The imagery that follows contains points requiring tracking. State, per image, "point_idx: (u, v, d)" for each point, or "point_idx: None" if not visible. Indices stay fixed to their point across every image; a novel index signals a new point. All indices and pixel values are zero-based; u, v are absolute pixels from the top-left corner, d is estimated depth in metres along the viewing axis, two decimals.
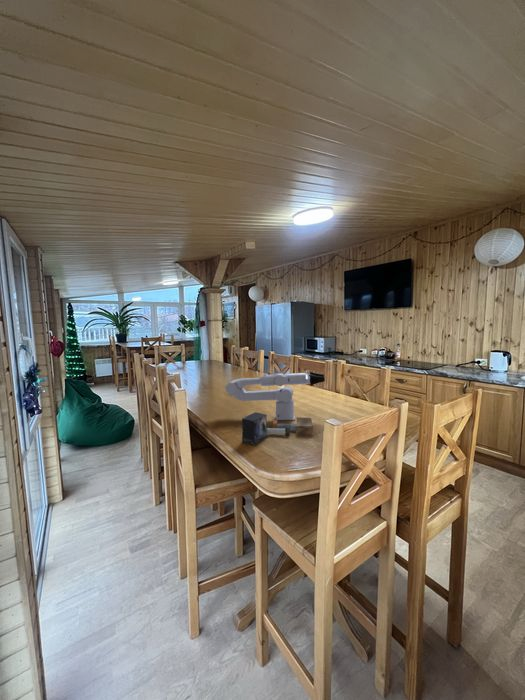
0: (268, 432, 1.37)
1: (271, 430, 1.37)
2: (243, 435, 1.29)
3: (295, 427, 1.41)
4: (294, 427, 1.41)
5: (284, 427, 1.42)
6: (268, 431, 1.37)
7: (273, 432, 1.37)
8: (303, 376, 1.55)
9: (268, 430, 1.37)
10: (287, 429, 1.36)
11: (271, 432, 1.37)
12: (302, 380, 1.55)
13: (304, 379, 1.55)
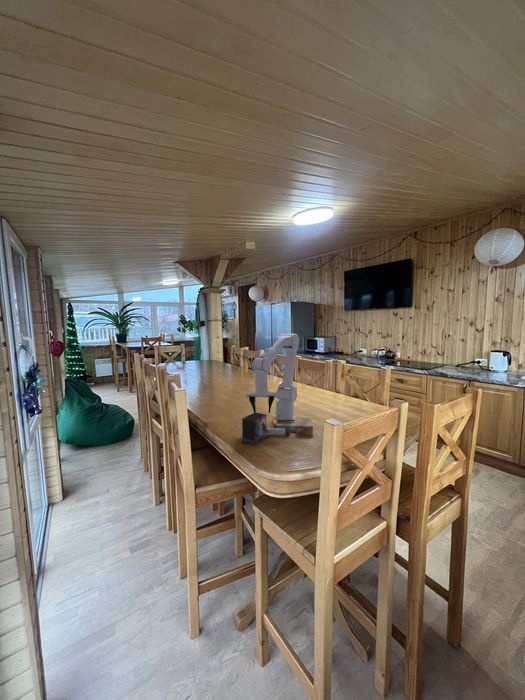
0: (268, 432, 1.37)
1: (271, 430, 1.37)
2: (243, 435, 1.29)
3: (295, 427, 1.41)
4: (294, 427, 1.41)
5: (284, 427, 1.42)
6: (268, 431, 1.37)
7: (273, 432, 1.37)
8: (256, 391, 1.41)
9: (268, 430, 1.37)
10: (287, 429, 1.36)
11: (271, 432, 1.37)
12: None
13: None
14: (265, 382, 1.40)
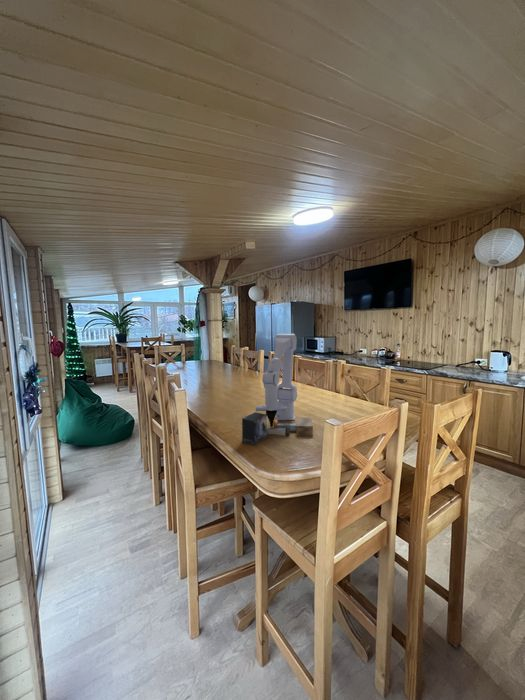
0: (268, 432, 1.37)
1: (271, 430, 1.37)
2: (243, 435, 1.29)
3: (296, 427, 1.41)
4: (295, 427, 1.41)
5: (285, 427, 1.42)
6: (268, 431, 1.37)
7: (273, 432, 1.37)
8: (266, 405, 1.41)
9: (268, 430, 1.37)
10: (287, 429, 1.36)
11: (271, 432, 1.37)
12: None
13: (265, 405, 1.43)
14: (276, 396, 1.41)
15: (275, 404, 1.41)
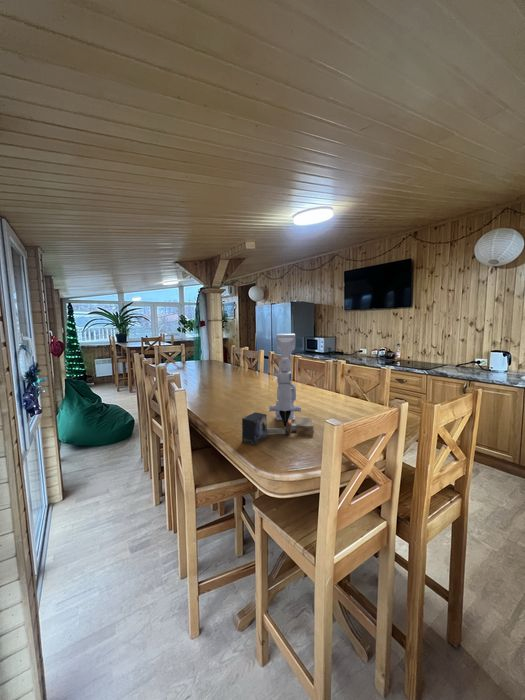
0: (268, 432, 1.37)
1: (271, 430, 1.37)
2: (243, 435, 1.29)
3: None
4: None
5: None
6: (268, 431, 1.37)
7: (273, 432, 1.37)
8: (279, 405, 1.41)
9: (268, 430, 1.37)
10: (287, 429, 1.36)
11: (271, 432, 1.37)
12: None
13: (278, 405, 1.42)
14: (290, 396, 1.41)
15: (289, 404, 1.40)
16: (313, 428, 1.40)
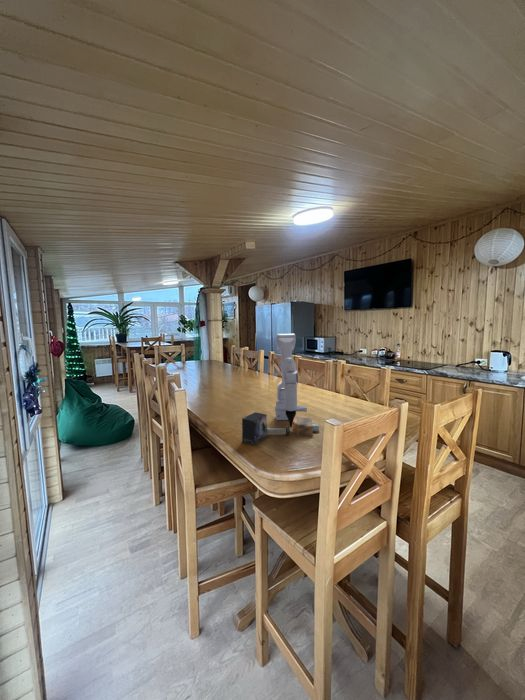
0: (268, 432, 1.37)
1: (271, 430, 1.37)
2: (243, 435, 1.29)
3: (315, 427, 1.40)
4: (314, 427, 1.40)
5: None
6: (268, 431, 1.37)
7: (273, 432, 1.37)
8: (285, 405, 1.40)
9: (268, 430, 1.37)
10: (287, 429, 1.36)
11: (271, 432, 1.37)
12: None
13: (284, 405, 1.42)
14: (296, 395, 1.41)
15: (295, 404, 1.40)
16: (318, 428, 1.40)
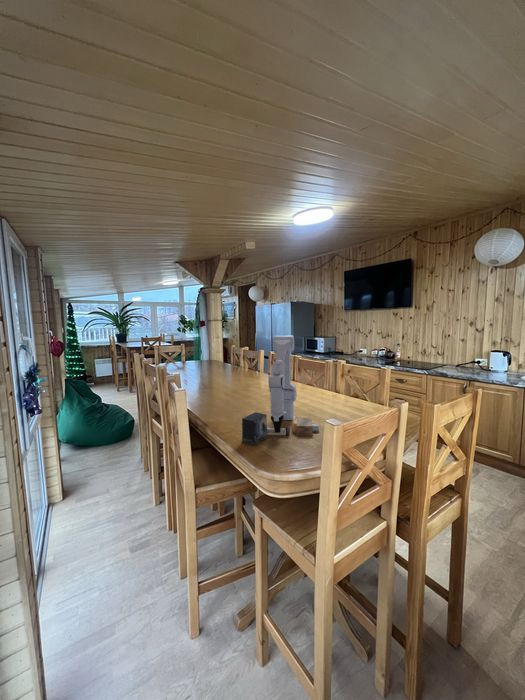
0: (268, 432, 1.37)
1: (271, 430, 1.37)
2: (243, 435, 1.29)
3: (315, 427, 1.40)
4: (314, 427, 1.40)
5: None
6: (268, 431, 1.37)
7: (273, 432, 1.37)
8: (280, 410, 1.33)
9: (268, 430, 1.37)
10: (287, 429, 1.36)
11: (271, 432, 1.37)
12: (275, 409, 1.33)
13: (276, 412, 1.33)
14: (282, 400, 1.34)
15: None
16: (318, 428, 1.40)
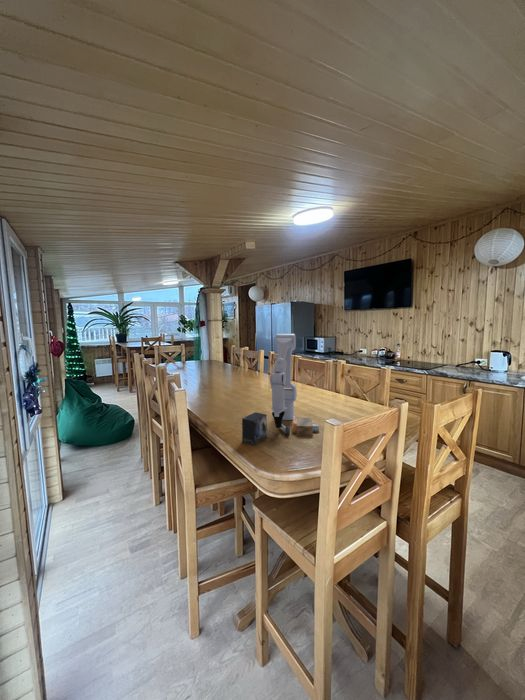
0: None
1: None
2: (243, 435, 1.29)
3: (315, 427, 1.40)
4: (314, 427, 1.40)
5: None
6: None
7: (280, 428, 1.43)
8: (281, 406, 1.38)
9: None
10: (287, 429, 1.36)
11: None
12: (276, 405, 1.38)
13: (277, 408, 1.38)
14: (283, 397, 1.39)
15: None
16: (318, 428, 1.40)
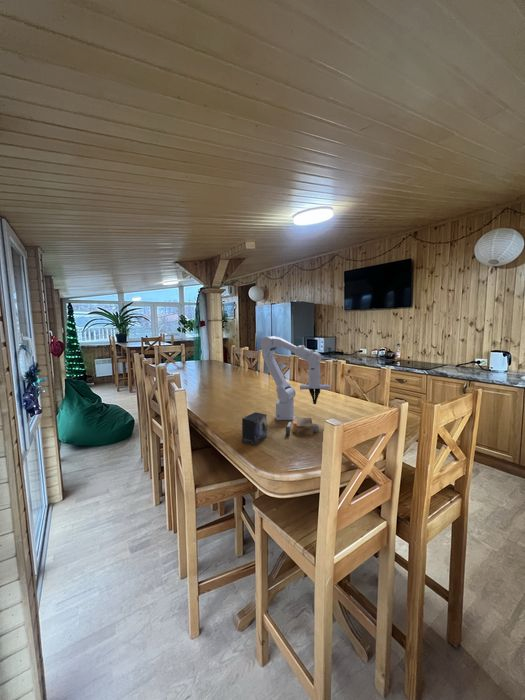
0: None
1: (288, 424, 1.44)
2: (243, 435, 1.29)
3: (315, 427, 1.40)
4: (314, 427, 1.40)
5: None
6: None
7: None
8: (309, 383, 1.50)
9: None
10: (287, 429, 1.36)
11: None
12: None
13: None
14: None
15: (319, 382, 1.50)
16: (318, 428, 1.40)
